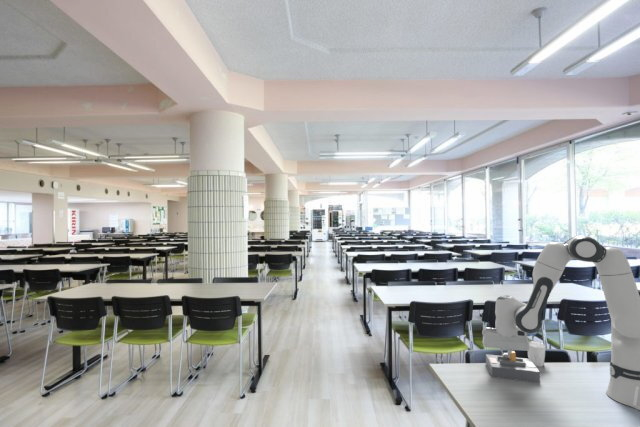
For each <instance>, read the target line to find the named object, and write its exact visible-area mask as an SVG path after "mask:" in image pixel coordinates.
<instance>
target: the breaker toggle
mask: <svg viewBox="0 0 640 427" xmlns="http://www.w3.org/2000/svg"><path fill="white" fill-rule="evenodd" d="M516 353H517V352H515V350H512V352H511V353H510V355H509V361H516V357H517V354H516Z"/></svg>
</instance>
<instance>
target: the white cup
mask: <svg viewBox="0 0 640 427" xmlns="http://www.w3.org/2000/svg"><path fill="white" fill-rule="evenodd" d="M529 344H530V349H529V350H528V351H527V357H528V358H527V359H530V360H531V361H532V362H533V364H534V365H535V366H536V367H544V366H545V359H546V358H545V357H546V345H545V344H544V343H541V342H538V341H529Z"/></svg>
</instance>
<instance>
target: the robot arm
mask: <svg viewBox="0 0 640 427" xmlns="http://www.w3.org/2000/svg"><path fill="white" fill-rule="evenodd" d="M543 247H544V248H542V250H541V251H540V253H539V255H538V257H537V259H536V261H535V263H534V267H533V270H532V283H533V288H532V292H531V294H530V297H529V299H528V301H527V303H526V302H522V301H521V300H519V299H516V297H514V296H512V295H500V296H499V297H497V299H496V301H495V305H494V306H495V307H494V308H495V309H494V310H495V311H494V314H495V321H494V322H495V323H494V324H495V325H494V326H495V327H485V328H483V329H482V331H481V334H482V345H483V347H485V348H491V349H493V348H494V349H499V351H500V352H501V356H502V357H504V358H509V355H510V353H511V352H512V351H527V352H528V350H529V349H530V344H529V342H530V340H529V337H528V334H533V333H537V332H539V331H540V330H541V329H542V325H543V321H542V318H543V317H542V314H543V311H544V308H545V307H546V304H547V302H548V300H549V297H550V295H551V293H552V291H553V290H554V288H555V286H556V285H557V283H558V281H559V280H560V279H561V277H562V275H563V273H564V271H565V269H566V266H567V265H568V263H569V262H570V261H572V260H578V261H582V262H588V263H593V264H594V265H595V267H596V269H597V274H598V277H599V281H600V285H601V288H602V292H603V294H604V298H605V301H606V302H605V303H606V306H607V310H608V313H609V318H610V324H611V325H610V327H611V329H610V330H611V332H610V333H611V336H610V340H611V341H610V342H611V348H610V350H611V351H610V352H611V353H610V356H611V360H609V375H610V377H609V382H608V385H607V389H606V391H605V394H606V395H607V396H608V397H609V398H611V399H612V400H613V401H616V402H618V403H620V404H622V405H626V406H629V407H632V408H633V409H636V410H637V411H640V293H639V289H638V286H637V283H636V281H635V280H636V279H635V277H634V273H633V271H632V267H631V265H630V263H629V261H628V260H629V259H627V256H626V254H625V253H624V251H623V250H621V249H620V248H618V247H612V246H608V247H607V246H606V247H605V246H603V245H602V244H601V243H600V242H599V241H597V240H596V239H595V238H593V237H591V236H588V235H576V236H572V237H571V238H569V239H568V240H566V241H565V242H563V243H559V242H556V241H555V242H549V243H547V244H545V246H543ZM504 350H507V352H503V351H504Z"/></svg>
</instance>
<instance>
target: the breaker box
mask: <svg viewBox="0 0 640 427" xmlns="http://www.w3.org/2000/svg"><path fill="white" fill-rule="evenodd" d="M486 364H487V365H486ZM485 365H486V367H487V369H489V370H488V372H489V371H490V372H489V374H490V376H491V378H498V379H505V380H515V381H523V382H532V383H539V384H541V372H540V370H539V369H538V368H537V367H538V366H535V365H534V364H533V362H532V361H531V360H530V359H528V358H525V357H517V356H516V361H509V358H504V357H502V355H495V354H487V353H486V354H485Z"/></svg>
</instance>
